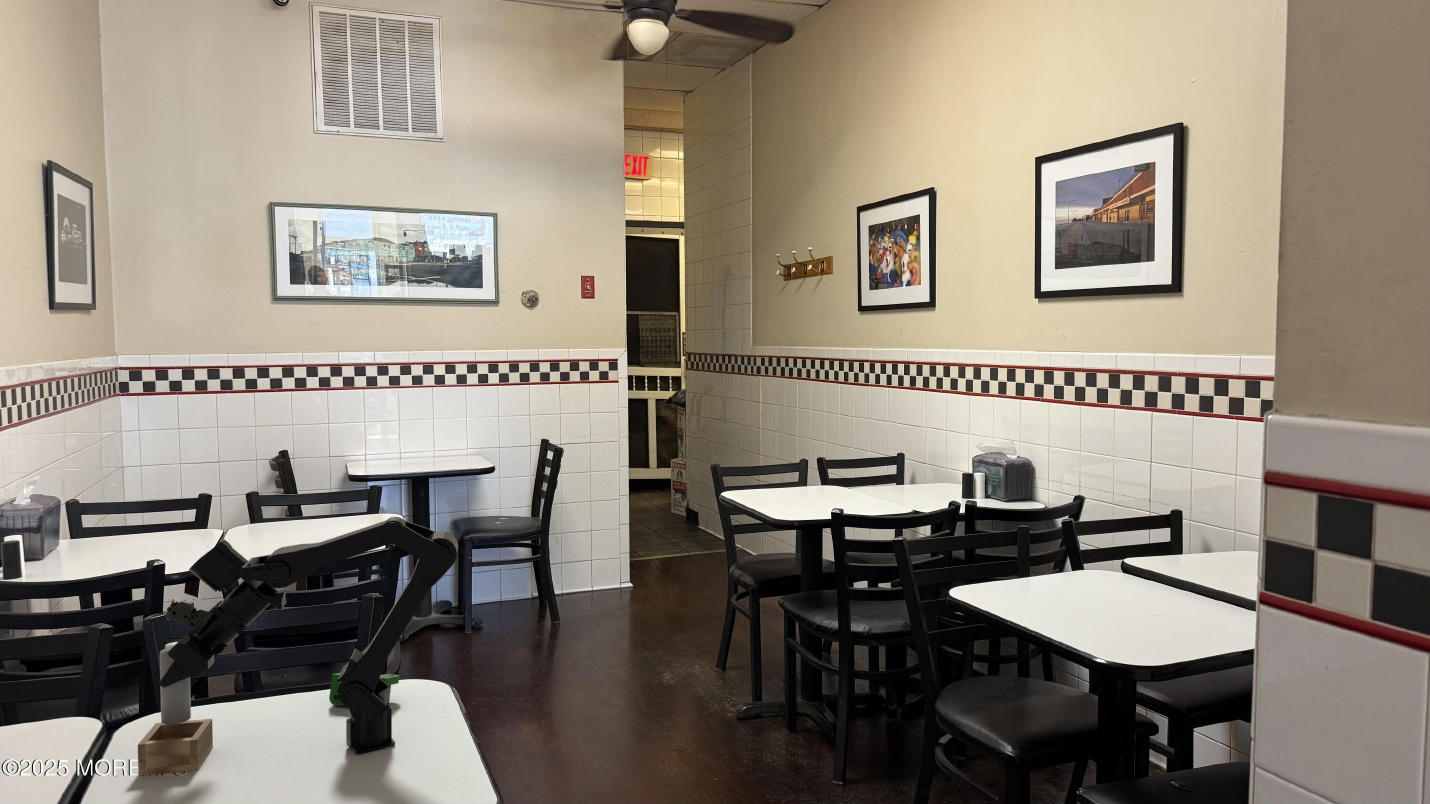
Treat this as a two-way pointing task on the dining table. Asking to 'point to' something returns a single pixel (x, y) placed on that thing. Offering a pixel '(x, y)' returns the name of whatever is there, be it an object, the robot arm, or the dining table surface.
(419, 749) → the dining table surface
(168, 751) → the end holder
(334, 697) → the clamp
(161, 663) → the white rounded cylinder
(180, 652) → the robot arm
